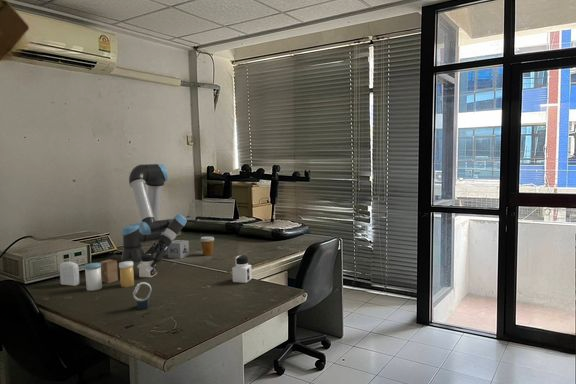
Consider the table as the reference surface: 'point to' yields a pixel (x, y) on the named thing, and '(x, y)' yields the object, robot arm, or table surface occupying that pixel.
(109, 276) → the walnut block
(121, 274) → the amber jar
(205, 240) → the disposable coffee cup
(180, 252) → the icon cube
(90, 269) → the white tub
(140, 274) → the medicine bottle
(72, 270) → the photo printer
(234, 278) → the container
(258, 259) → the table surface
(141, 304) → the watch
